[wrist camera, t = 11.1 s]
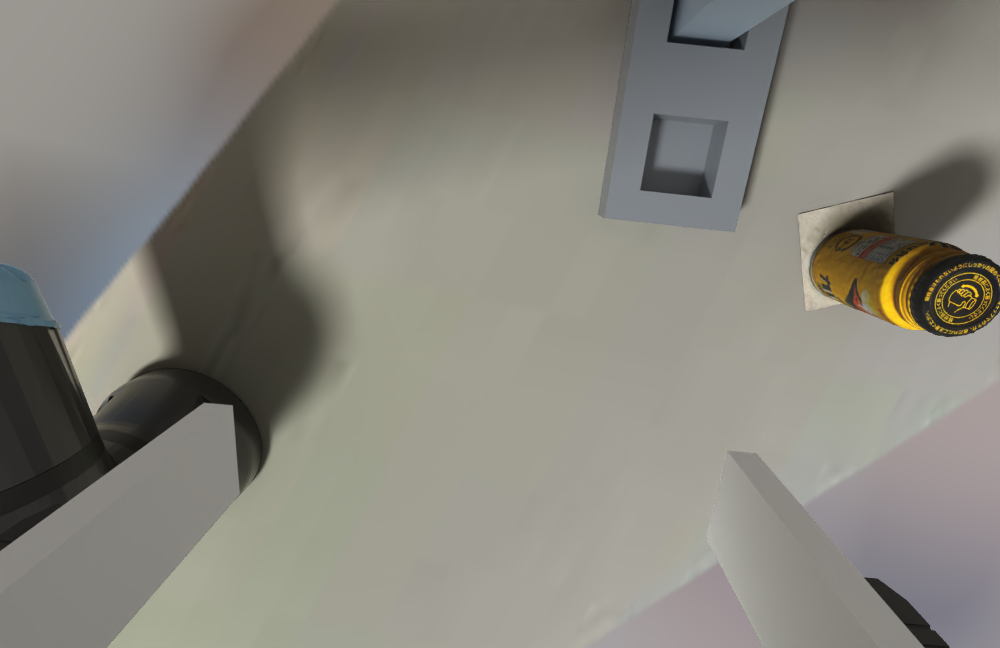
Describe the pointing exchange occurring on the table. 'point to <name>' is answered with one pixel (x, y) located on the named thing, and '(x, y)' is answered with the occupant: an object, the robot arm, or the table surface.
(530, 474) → the table surface
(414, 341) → the table surface
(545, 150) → the table surface
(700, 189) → the panel
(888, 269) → the condiment
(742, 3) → the plug
